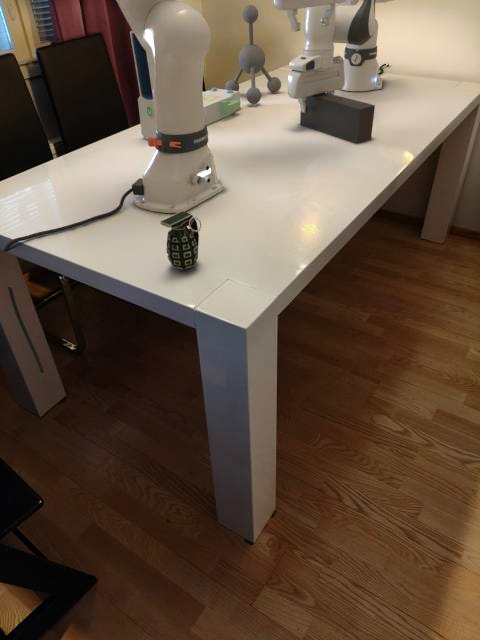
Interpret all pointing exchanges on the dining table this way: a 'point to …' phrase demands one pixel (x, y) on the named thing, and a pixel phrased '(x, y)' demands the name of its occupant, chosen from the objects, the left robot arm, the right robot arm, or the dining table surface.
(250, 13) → the molecular model
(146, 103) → the electronic device
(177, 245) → the grenade
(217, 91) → the decorative block
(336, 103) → the bar
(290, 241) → the dining table surface
